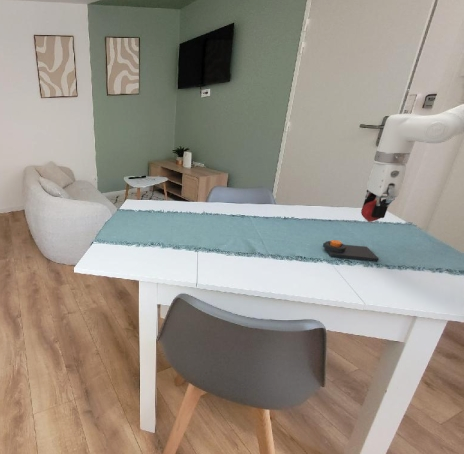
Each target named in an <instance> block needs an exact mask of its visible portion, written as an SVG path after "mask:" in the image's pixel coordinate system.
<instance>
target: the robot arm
mask: <svg viewBox="0 0 464 454" xmlns="http://www.w3.org/2000/svg"><path fill="white" fill-rule="evenodd" d="M462 134H464V103H462V104H460V105H457V106H455V107H452V108H449V109H447V110H445V111H443V112H440V113H437V114H428V115H421V114H419V113H396V114H391V115H389V116H388V117H386V120H385V123H384V126H383V129H382V132H381V136H380V139H379V142H378V145H377V149H376V152H375V155H374V158H373V161H372V162H373V163H374V164H373V165H372V168H371V171H370V173H369V176H368V179H367V181H366V186H365V189H366V190H365V191H366V194H365V197H364V201H363V204H362V208H363V206H364V205H365V204H367V203H368V202H371V201H374V200H375V199H376V198H377V204H376V205H374V208H373V211H372V214H371V217H373V218H380V219H384V218H386V217H385V216H386V214H387V211H388V208H389V207H390V205H391V203H392V202H394V201H395V199H396V198H398V197H399V196H400V193H401V191H402V190H401V189H402V187H403V184H404V183H403V182H404V179H405V175H406V170H407V165H408V162H409V159H410V156H411V154H412V152H413V151H412V150H413V149H414V146H415V143H416V142H419V143H424V144H425V143H426V144H441V143H445V142H447V141H450V140H452V139H453V138H454V137H457V136H460V135H462ZM362 208H361V209H362Z"/></svg>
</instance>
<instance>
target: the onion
mask: <svg viewBox="0 0 464 454" xmlns="http://www.w3.org/2000/svg"><path fill="white" fill-rule="evenodd" d="M376 204H377V198H376V199H375V200H374V201H371V202H368V203H367V204H365V205H364V206H363V205H362V207H363V208H361V210H360V214H361V216H362V218H363V219H364V220H365V221H367V222H368V223H372V222H374V221H378V220H380V219H381V218H373V217H371V214H372V211H373V208H374V205H376Z"/></svg>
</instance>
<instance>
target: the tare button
mask: <svg viewBox="0 0 464 454" xmlns="http://www.w3.org/2000/svg"><path fill="white" fill-rule="evenodd" d="M330 241H331V242H330V245H331V246H334V247H341V243H342V241H341V240H336V239H332V240H330Z"/></svg>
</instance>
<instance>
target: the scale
mask: <svg viewBox="0 0 464 454" xmlns="http://www.w3.org/2000/svg"><path fill="white" fill-rule="evenodd" d="M330 242H331V240H326V241H325V242H322V243H323V244H322V247H323V248H324V250H325V251H326V253H327V255H328V256H329V258H334V259H343V260H351V261H361V262H370V263H371V262H372V263H379V257H378V256H377V255H376V254H375V253H374V252H373V251H372V250H371V249H370V248H369V247H368V246H364V245H363V246H362V245H351V244H344V243H343V242H341V247H334V246H331V245H330Z"/></svg>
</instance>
